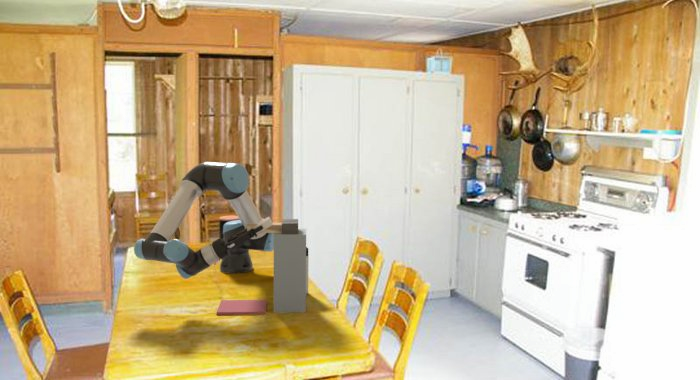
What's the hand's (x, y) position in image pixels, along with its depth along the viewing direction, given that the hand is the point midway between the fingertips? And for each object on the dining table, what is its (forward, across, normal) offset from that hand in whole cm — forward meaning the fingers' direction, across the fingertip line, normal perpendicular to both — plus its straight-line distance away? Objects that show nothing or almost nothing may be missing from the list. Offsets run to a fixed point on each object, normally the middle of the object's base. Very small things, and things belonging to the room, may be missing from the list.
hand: (270, 220), depth 216 cm
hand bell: (-60, -71, -5) cm, 93 cm away
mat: (-26, 0, -24) cm, 36 cm away
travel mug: (-7, -16, -36) cm, 40 cm away
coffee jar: (-40, -86, -17) cm, 96 cm away
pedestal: (-11, 0, -33) cm, 35 cm away
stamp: (-1, 0, -4) cm, 4 cm away
